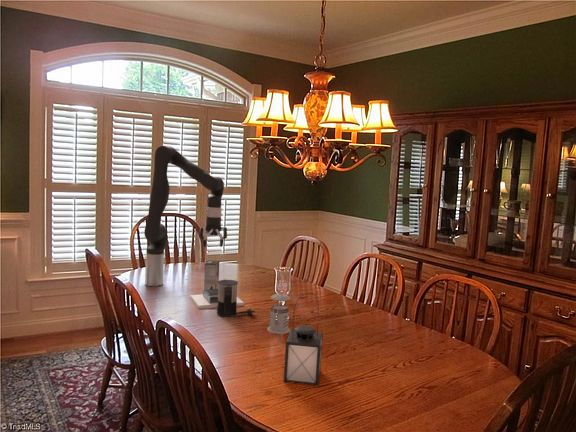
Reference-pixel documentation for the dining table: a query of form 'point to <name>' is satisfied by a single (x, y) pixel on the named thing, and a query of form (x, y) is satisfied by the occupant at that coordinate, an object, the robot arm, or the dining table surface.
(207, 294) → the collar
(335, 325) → the dining table surface
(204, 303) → the base board
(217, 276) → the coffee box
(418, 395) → the dining table surface
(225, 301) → the milk frother
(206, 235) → the robot arm
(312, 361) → the lantern
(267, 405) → the dining table surface
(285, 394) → the dining table surface
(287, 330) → the glass oil lamp
